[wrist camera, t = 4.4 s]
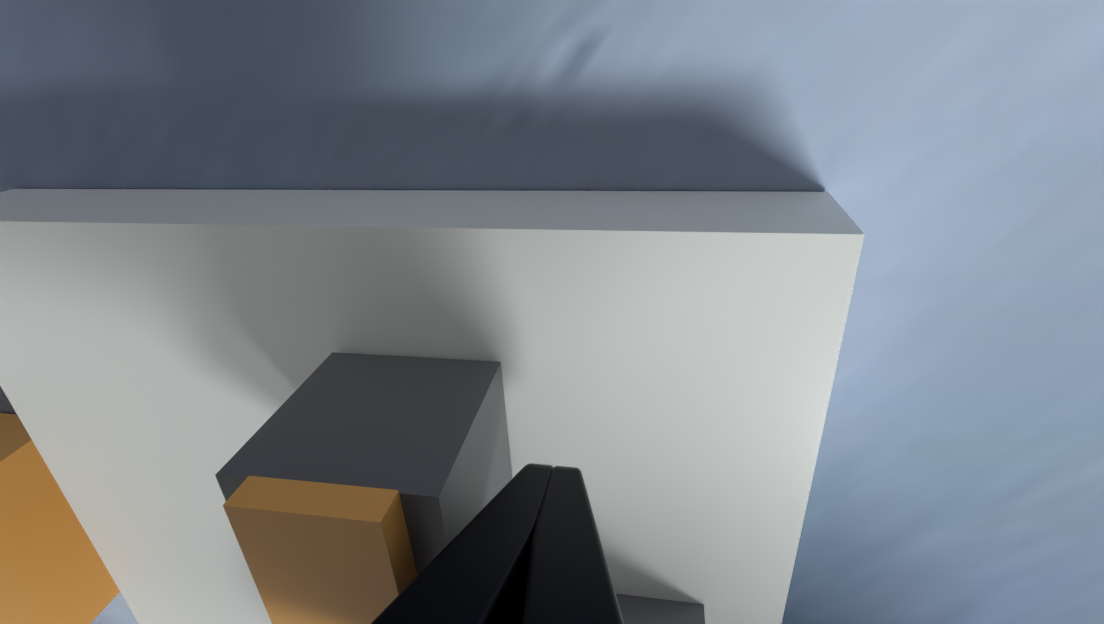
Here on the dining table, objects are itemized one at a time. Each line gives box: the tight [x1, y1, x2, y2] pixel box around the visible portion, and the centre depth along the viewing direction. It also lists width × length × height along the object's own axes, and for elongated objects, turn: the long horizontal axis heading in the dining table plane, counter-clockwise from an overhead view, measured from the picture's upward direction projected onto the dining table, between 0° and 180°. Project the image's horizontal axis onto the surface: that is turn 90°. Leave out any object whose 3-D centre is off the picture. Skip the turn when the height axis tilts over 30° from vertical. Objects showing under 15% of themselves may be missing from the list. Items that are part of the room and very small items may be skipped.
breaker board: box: [0, 189, 865, 624], centre depth 12 cm, size 16×14×5 cm
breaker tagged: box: [215, 352, 512, 624], centre depth 9 cm, size 3×3×4 cm
